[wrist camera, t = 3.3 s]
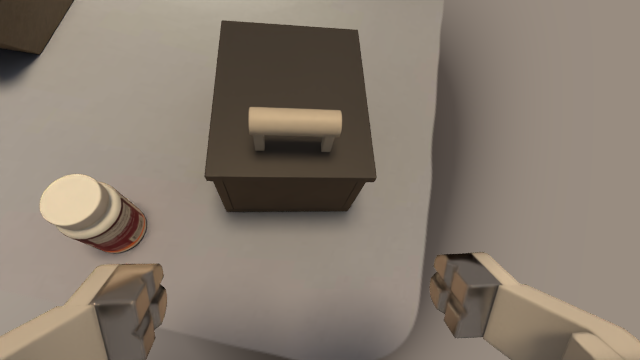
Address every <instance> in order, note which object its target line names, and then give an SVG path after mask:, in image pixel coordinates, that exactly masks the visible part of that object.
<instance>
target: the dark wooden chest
mask: <svg viewBox="0 0 640 360" xmlns="http://www.w3.org/2000/svg"><path fill="white" fill-rule="evenodd" d="M213 182H214V184H215V187H216V189H217V191H218V193H219V196H220V198H221V200H222V202H223V205H224V207H225V209H226V211H227V212H268V211H348V210H349V208H350V207H351V205H352V203H353V202H354V200H355V199H356V197H357V195H358V194H359V192H360V191H361V189H362V187H363V186H364V184H365V183H366V182H298V181H213Z"/></svg>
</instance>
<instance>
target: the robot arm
mask: <svg viewBox="0 0 640 360" xmlns="http://www.w3.org/2000/svg"><path fill="white" fill-rule="evenodd" d="M433 266H434V268H435V270H436V271H437V272H436V273H435V274H434V275H433V276H432V277H431V281H430V287H429V288H430V296H431V299H432V302H433V304H434V305H435V307H436V309H437V310H439V311H441V312H442V313H444V314H445V317H444V322H445V323H446V325H447V326H448V328H449V329H450V331H451V332H452V334H453V336H454V337H455V338H474V337H483V339H484V340H486V341H487V342H488V343H489V344H491V345H492V346H493V347H495V348H496V349H497V350H499V351H500V352H501V353H503V354H504V355H505V356H507V357H508V358H509V359H511V360H640V341H639V340H638V339H636V338H635V337H634V336H633V335H631V334H630V333H629V332H628V331H626V330H625V329H624V328H622V327H619V326H617V325H615V324H613V323H611V322H608V321H606V320H604V319H602V318H599V317H597V316H595V315H593V314H591V313H588V312H586V311H584V310H581V309H579V308H577V307H575V306H573V305H570V304H568V303H566V302H564V301H562V300H559V299H557V298H555V297H553V296H550V295H548V294H546V293H544V292H541V291H539V290H537V289H535V288H533V287H530V286H528V285H526V284H519V283H518V282H517V281H516V280H515V279H514V278H513V277H512V276H511V275H510V274H509V273H508V272H507V271H506V270H505V269H503V268H502V267H501V266H500V265H499V264H498V263H497V262H496V261H495V260H494V259H493V258H492V257H491V256H490V255H489V254H487V253H484V252H475V253H466V254H444V255H437V257H436V258H435V261H434V265H433ZM163 277H164V274H163V269H162V266H161V265H160V264H107V265H100V266H97V267H96V269H95V270H94V271H93V272H92V273H91V274H90V276H89V277H88V278H87V279H86V280H85V281H84V283H83V284H82V285H81V286H80V287H79V288H78V290H77V291H76V292H75V293H74V294H73V295H72V297H71V298H70V299H69V300H68V301H67V302H66V304H65V305H64V306H58V307H55V308H53V309H51V310H49V311H47V312H45V313H44V314H42V315H40V316H38V317H36V318H34V319H32V320H30V321H29V322H27V323H25V324H23V325H21V326H19V327H17V328H15V329H13V330H11V331H9V332H8V333H6V334H4V335H2V336H0V360H146V359H147V356H148V354H149V352H150V349H151V347H152V345H153V342H154V340H155V332H154V330H155V329H156V328H158V327H159V326H160V325H161V324H162V322H163V319H164V317H165V312H166V307H167V294H166V289H165V288H164V287H163V286H162V285H161V284H160V283H161V281H162V279H163Z"/></svg>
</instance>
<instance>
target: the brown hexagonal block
mask: <svg viewBox="0 0 640 360" xmlns="http://www.w3.org/2000/svg"><path fill="white" fill-rule="evenodd" d="M72 2H73V0H0V48H3V49H9V50H15V51H22V52H28V53H34V54H40V53H41V52H42V50H43V49H44V47H45V45H46V44H47V42H48V41H49V39H50V37H51V36H52V34H53V32H54V31H55V29H56V28H57V26H58V24H59V23H60V21H61V20H62V18H63V16H64V15H65V13H66V11H67V10H68V8H69V7H70V5H71V3H72Z"/></svg>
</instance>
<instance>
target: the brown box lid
mask: <svg viewBox="0 0 640 360" xmlns="http://www.w3.org/2000/svg"><path fill="white" fill-rule="evenodd" d="M205 178H206V180H207V181H298V182H374V181H375V180H376V170H375V162H374V154H373V146H372V138H371V130H370V122H369V114H368V107H367V99H366V91H365V83H364V75H363V67H362V59H361V51H360V43H359V36H358V30H350V29H336V28H322V27H308V26H293V25H279V24H265V23H251V22H236V21H222V22H221V31H220V40H219V49H218V58H217V67H216V76H215V86H214V95H213V104H212V113H211V122H210V131H209V140H208V149H207V159H206V168H205Z"/></svg>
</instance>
